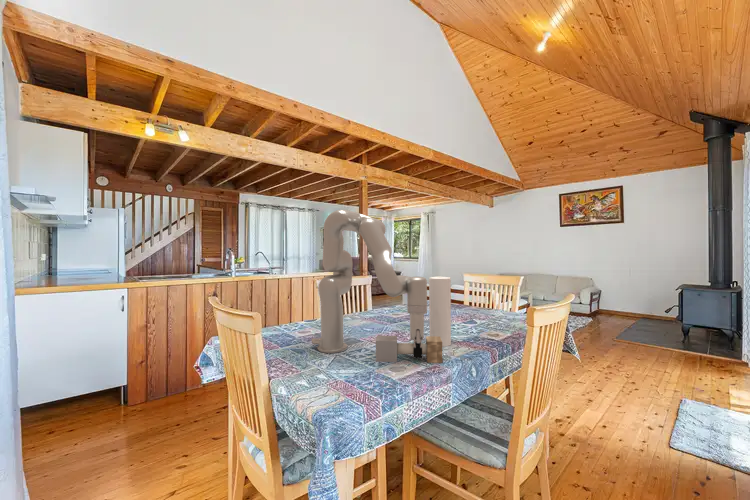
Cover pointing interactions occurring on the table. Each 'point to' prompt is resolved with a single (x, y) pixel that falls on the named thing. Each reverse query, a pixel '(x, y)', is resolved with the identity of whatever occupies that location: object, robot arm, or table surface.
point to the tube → (410, 348)
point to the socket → (434, 349)
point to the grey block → (386, 349)
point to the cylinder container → (440, 308)
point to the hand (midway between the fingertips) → (417, 355)
